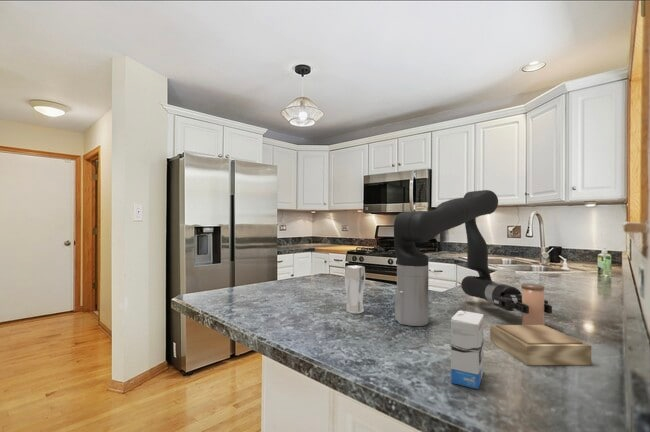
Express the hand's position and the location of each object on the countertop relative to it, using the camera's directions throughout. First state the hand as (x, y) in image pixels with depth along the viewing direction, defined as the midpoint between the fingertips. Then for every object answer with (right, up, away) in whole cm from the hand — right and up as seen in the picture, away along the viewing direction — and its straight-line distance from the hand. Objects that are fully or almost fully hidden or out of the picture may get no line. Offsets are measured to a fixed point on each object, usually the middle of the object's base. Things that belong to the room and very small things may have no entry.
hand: (539, 309), depth 87 cm
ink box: (-30, -6, -25) cm, 40 cm away
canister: (0, -7, +2) cm, 7 cm away
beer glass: (-48, -7, +22) cm, 53 cm away
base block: (-9, -6, -12) cm, 16 cm away
